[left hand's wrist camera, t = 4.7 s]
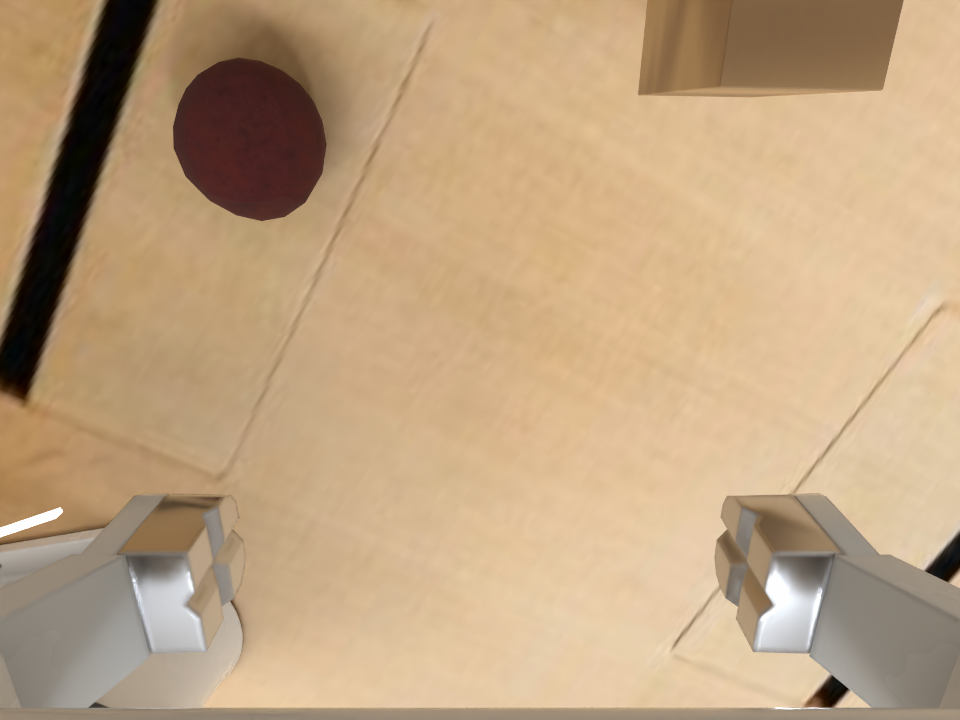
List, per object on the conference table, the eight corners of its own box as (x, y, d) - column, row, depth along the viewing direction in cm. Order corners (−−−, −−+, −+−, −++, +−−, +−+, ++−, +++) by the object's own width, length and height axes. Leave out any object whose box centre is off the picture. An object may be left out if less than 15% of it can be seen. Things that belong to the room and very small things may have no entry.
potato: (331, 63, 33) (298, 51, 27) (343, 210, 36) (316, 232, 30) (193, 64, 33) (125, 52, 27) (216, 212, 36) (160, 233, 30)
